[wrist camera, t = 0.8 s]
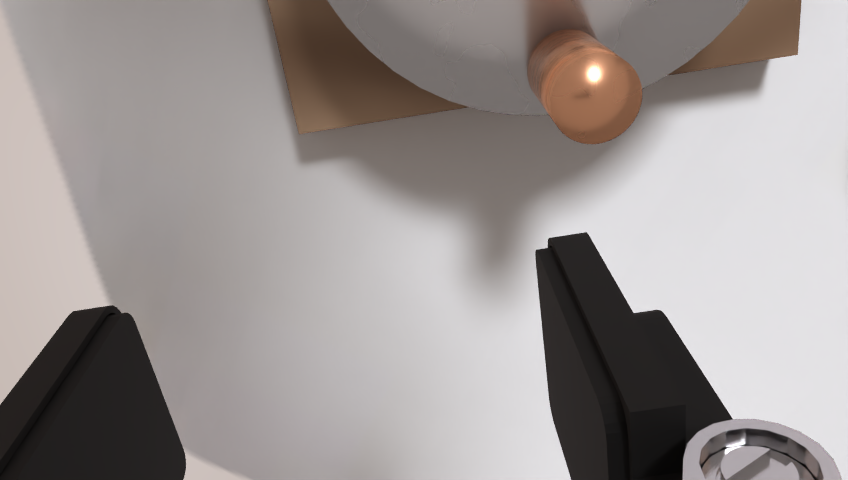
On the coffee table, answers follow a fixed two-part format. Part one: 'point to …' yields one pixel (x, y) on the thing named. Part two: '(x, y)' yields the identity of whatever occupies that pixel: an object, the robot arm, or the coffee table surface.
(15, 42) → the coffee table surface
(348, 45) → the wheel base
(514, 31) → the handwheel
